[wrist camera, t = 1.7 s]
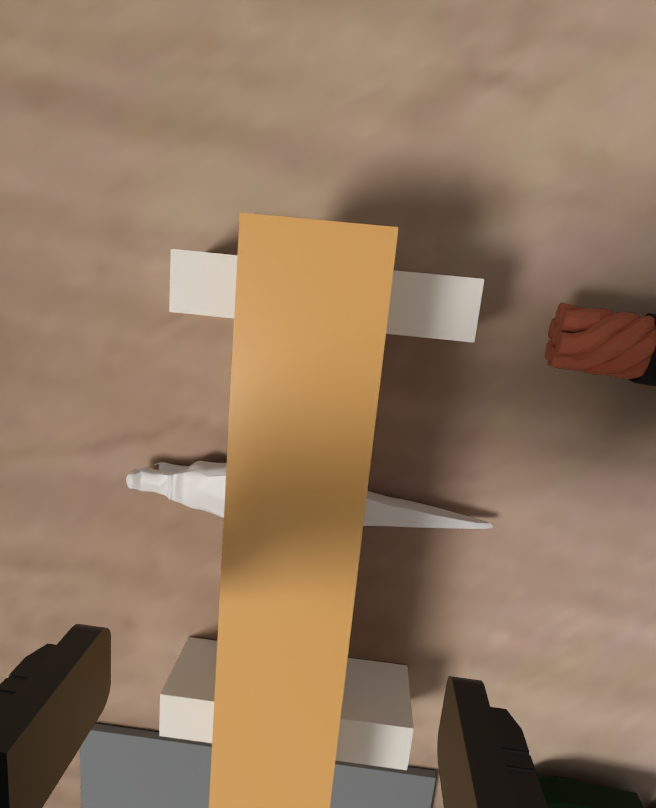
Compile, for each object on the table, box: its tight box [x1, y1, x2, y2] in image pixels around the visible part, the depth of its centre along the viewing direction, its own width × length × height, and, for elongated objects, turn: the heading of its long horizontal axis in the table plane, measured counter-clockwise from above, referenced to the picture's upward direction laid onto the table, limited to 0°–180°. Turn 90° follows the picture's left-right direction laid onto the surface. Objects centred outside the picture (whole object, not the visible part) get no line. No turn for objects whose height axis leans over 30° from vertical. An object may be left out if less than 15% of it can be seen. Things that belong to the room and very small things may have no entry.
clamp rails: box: [159, 249, 484, 770], centre depth 21 cm, size 19×10×4 cm, turn 175°
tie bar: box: [209, 213, 399, 808], centre depth 18 cm, size 21×4×4 cm, turn 175°
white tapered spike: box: [126, 461, 493, 529], centre depth 22 cm, size 15×3×2 cm, turn 83°
